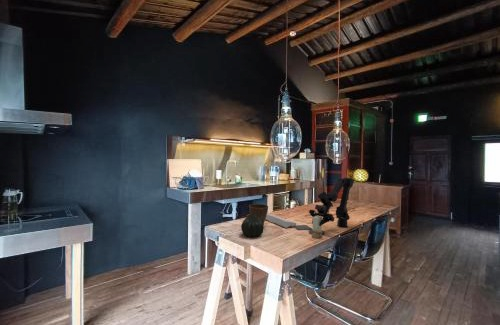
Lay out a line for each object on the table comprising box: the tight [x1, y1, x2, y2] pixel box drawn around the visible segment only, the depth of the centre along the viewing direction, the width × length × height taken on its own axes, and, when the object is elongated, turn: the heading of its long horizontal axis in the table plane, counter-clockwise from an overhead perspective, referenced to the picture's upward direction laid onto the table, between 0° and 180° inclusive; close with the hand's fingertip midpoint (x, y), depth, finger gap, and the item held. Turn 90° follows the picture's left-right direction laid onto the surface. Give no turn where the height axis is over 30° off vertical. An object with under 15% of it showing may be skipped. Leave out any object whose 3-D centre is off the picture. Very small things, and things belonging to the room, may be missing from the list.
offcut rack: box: [308, 229, 326, 236], centre depth 177 cm, size 9×8×2 cm
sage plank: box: [312, 216, 323, 231], centre depth 177 cm, size 5×4×12 cm
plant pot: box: [248, 203, 269, 225], centre depth 190 cm, size 15×15×16 cm
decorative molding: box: [265, 213, 297, 229], centre depth 204 cm, size 34×5×10 cm
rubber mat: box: [293, 224, 313, 231], centre depth 190 cm, size 11×10×1 cm
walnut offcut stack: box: [311, 230, 323, 240], centre depth 168 cm, size 5×5×4 cm
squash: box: [240, 213, 264, 238], centre depth 169 cm, size 14×15×15 cm
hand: (316, 224), depth 176 cm, fingers open, 6 cm apart
